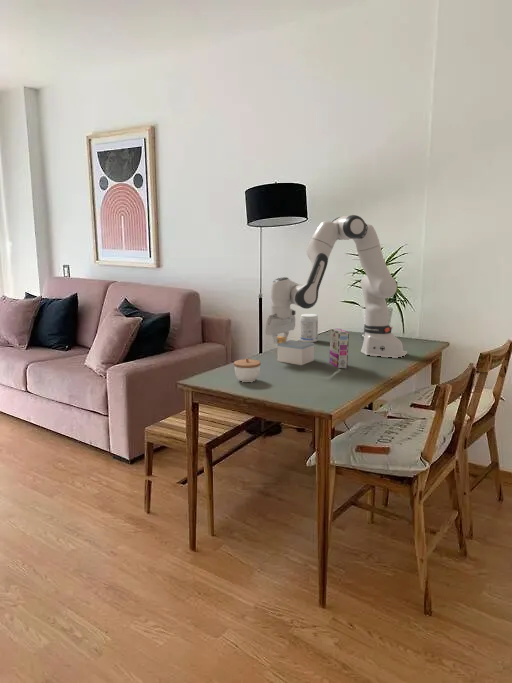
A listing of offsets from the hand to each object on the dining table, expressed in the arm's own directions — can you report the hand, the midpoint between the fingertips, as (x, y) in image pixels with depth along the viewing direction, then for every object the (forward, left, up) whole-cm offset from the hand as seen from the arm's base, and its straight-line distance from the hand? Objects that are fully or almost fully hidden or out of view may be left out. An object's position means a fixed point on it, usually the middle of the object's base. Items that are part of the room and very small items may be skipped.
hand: (280, 342), depth 250 cm
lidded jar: (-9, +38, -9) cm, 40 cm away
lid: (-6, 0, -2) cm, 7 cm away
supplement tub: (+12, -47, -9) cm, 49 cm away
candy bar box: (-28, -5, -9) cm, 30 cm away
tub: (-8, 0, -9) cm, 12 cm away
